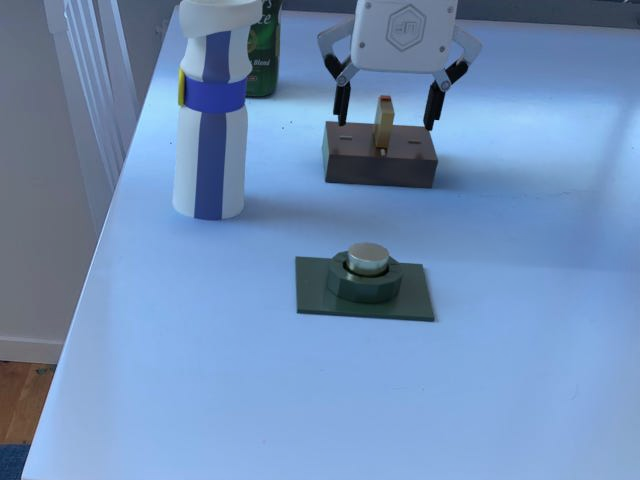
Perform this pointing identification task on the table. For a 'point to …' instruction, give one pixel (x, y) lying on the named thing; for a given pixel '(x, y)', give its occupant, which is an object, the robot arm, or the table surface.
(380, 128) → the lock knob
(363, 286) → the dark green button base
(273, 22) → the coffee jar
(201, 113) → the water bottle
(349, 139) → the lock plate
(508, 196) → the table surface
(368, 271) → the bell button
